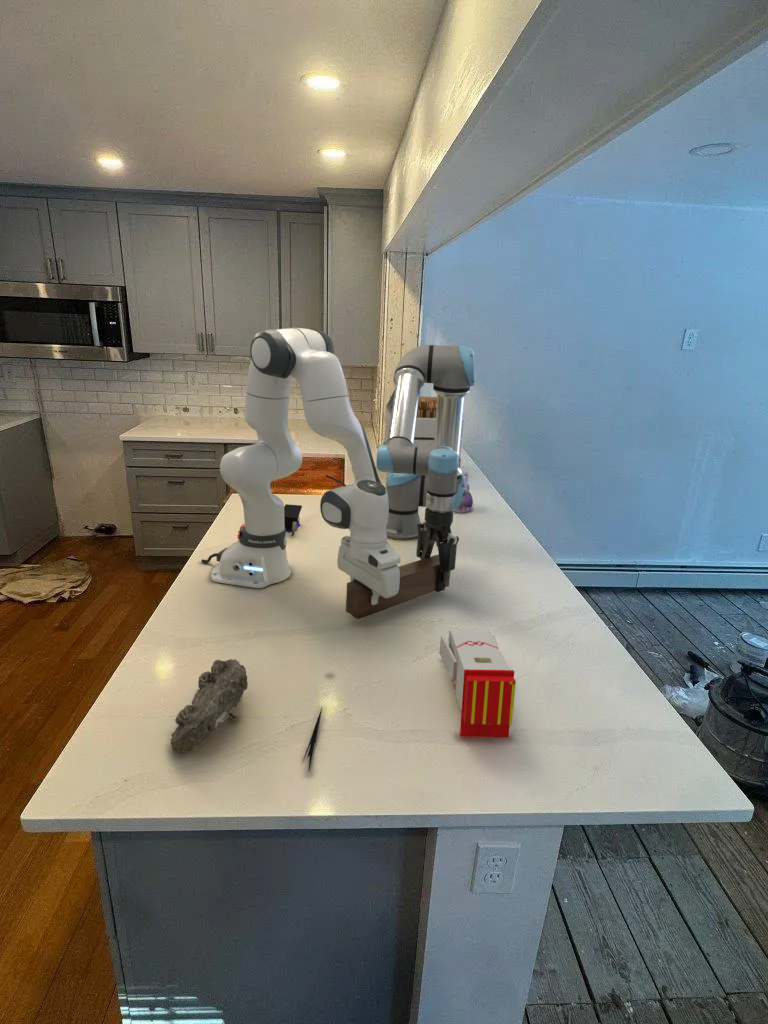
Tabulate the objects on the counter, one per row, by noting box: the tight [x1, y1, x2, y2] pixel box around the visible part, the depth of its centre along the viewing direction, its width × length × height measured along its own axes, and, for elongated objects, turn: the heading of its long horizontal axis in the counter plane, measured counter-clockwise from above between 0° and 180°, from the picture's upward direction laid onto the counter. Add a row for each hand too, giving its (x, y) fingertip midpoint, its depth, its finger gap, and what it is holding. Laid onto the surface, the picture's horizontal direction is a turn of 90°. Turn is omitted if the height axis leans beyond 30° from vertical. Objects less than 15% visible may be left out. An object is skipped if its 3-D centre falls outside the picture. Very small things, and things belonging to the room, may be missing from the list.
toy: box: [438, 628, 517, 738], centre depth 117 cm, size 12×13×30 cm
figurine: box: [453, 472, 474, 514], centre depth 225 cm, size 9×10×15 cm
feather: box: [301, 673, 332, 771], centre depth 108 cm, size 2×28×2 cm
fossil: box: [170, 658, 249, 753], centre depth 106 cm, size 22×10×15 cm
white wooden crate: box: [382, 389, 464, 469], centre depth 268 cm, size 34×33×41 cm
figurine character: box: [284, 503, 303, 537], centre depth 197 cm, size 7×8×15 cm
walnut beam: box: [345, 553, 451, 621], centre depth 149 cm, size 5×32×8 cm, turn 130°
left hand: (365, 598), depth 141 cm, fingers closed on walnut beam, 5 cm apart
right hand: (432, 586), depth 158 cm, fingers closed on walnut beam, 5 cm apart
